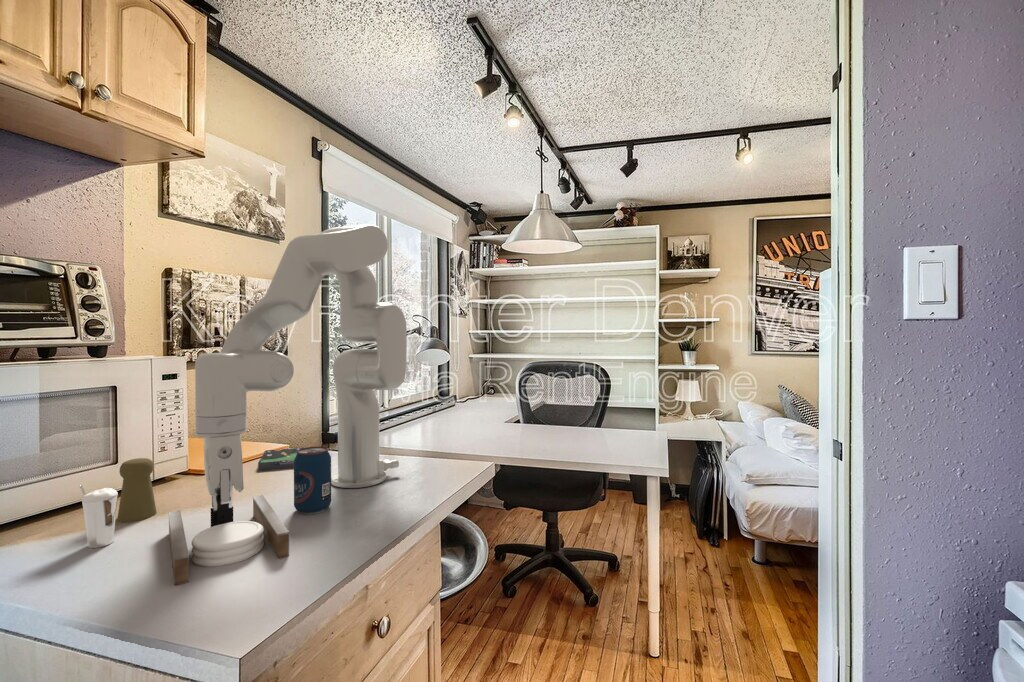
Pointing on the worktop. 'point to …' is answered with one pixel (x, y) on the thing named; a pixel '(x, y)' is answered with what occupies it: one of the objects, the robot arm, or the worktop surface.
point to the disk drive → (277, 459)
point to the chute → (262, 514)
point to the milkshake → (99, 516)
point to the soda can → (312, 480)
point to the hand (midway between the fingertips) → (222, 530)
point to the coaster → (227, 543)
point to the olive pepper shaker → (136, 491)
